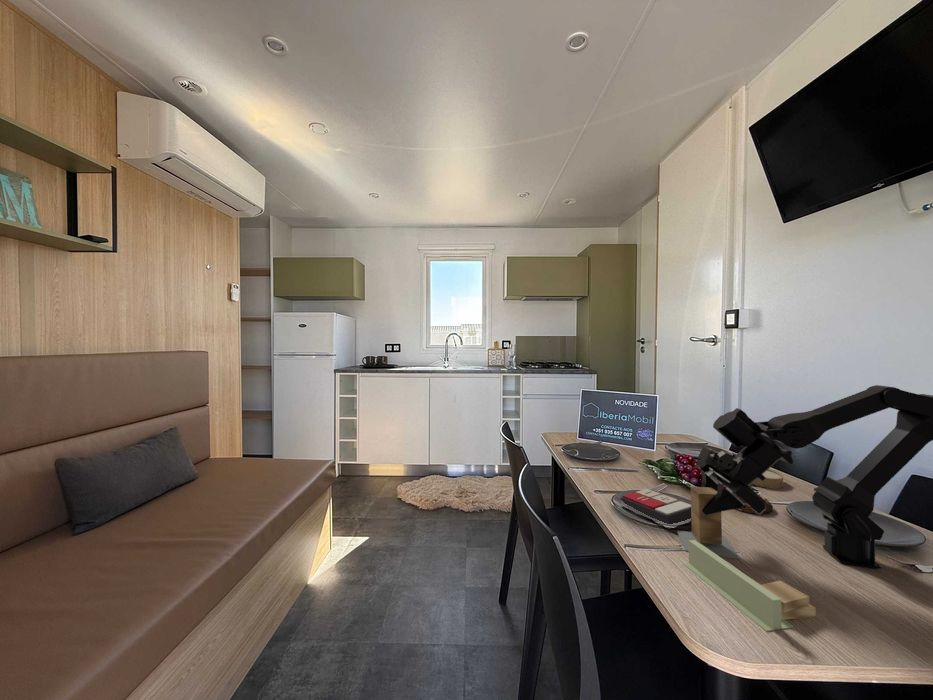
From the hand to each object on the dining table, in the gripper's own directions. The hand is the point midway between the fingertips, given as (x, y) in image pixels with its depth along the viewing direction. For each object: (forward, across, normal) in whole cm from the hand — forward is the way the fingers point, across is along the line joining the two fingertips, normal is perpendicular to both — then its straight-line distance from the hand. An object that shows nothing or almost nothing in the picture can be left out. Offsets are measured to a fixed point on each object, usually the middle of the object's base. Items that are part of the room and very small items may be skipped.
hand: (699, 508), depth 83 cm
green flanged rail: (+7, +16, +5) cm, 18 cm away
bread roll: (-9, -23, +22) cm, 33 cm away
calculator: (+9, -16, +3) cm, 18 cm away
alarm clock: (-18, -43, +31) cm, 56 cm away
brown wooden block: (+4, 0, +6) cm, 7 cm away
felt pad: (+5, 0, +7) cm, 8 cm away
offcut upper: (+2, +20, +8) cm, 22 cm away
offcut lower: (+3, +20, +9) cm, 22 cm away
